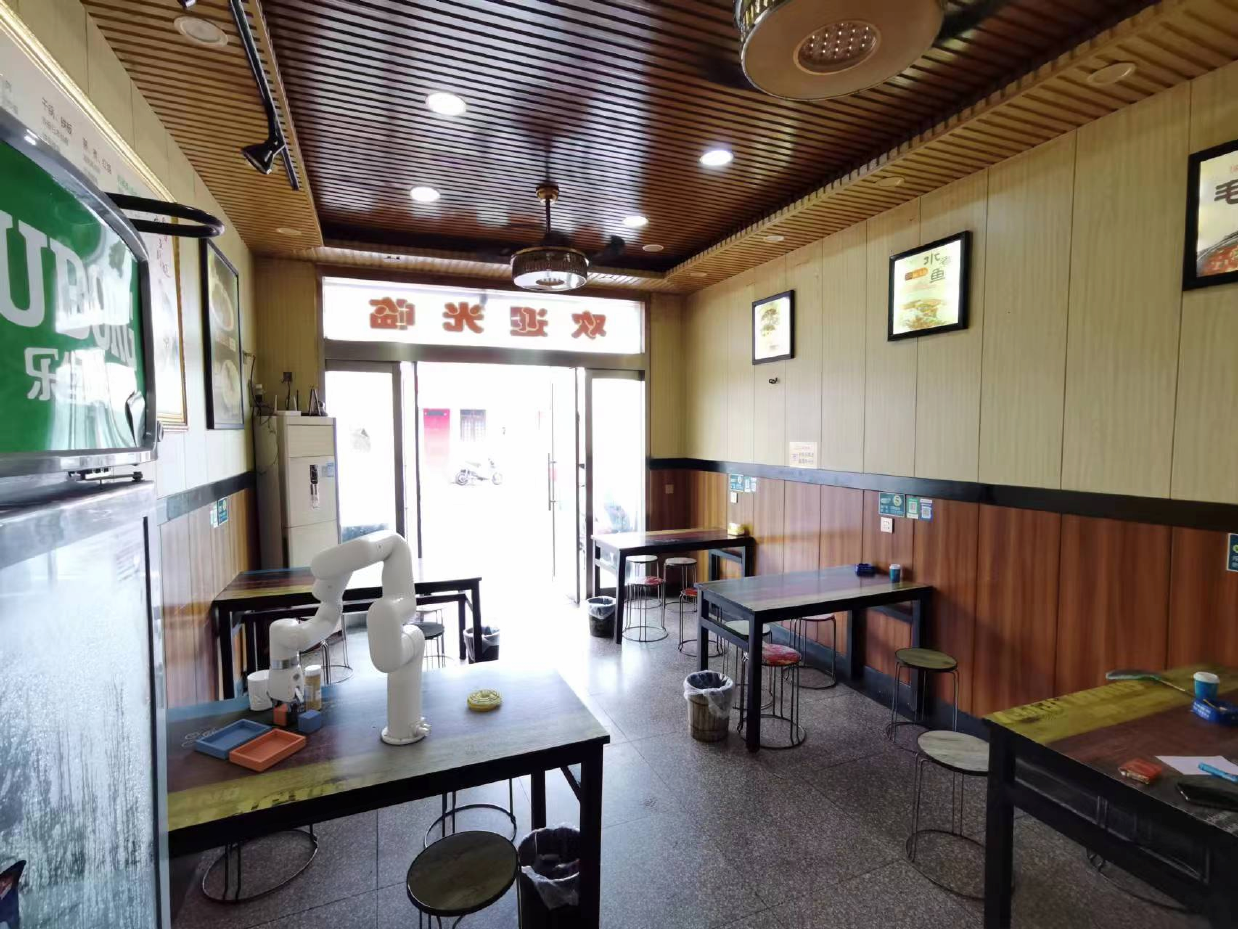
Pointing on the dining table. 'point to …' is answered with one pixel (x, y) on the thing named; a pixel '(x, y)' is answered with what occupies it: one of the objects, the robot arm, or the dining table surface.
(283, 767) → the dining table surface
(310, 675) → the sprinkles bottle
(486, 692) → the decorated donut
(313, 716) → the slate-blue block
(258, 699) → the white cup
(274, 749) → the terracotta tray
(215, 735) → the slate-blue tray
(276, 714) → the terracotta block
